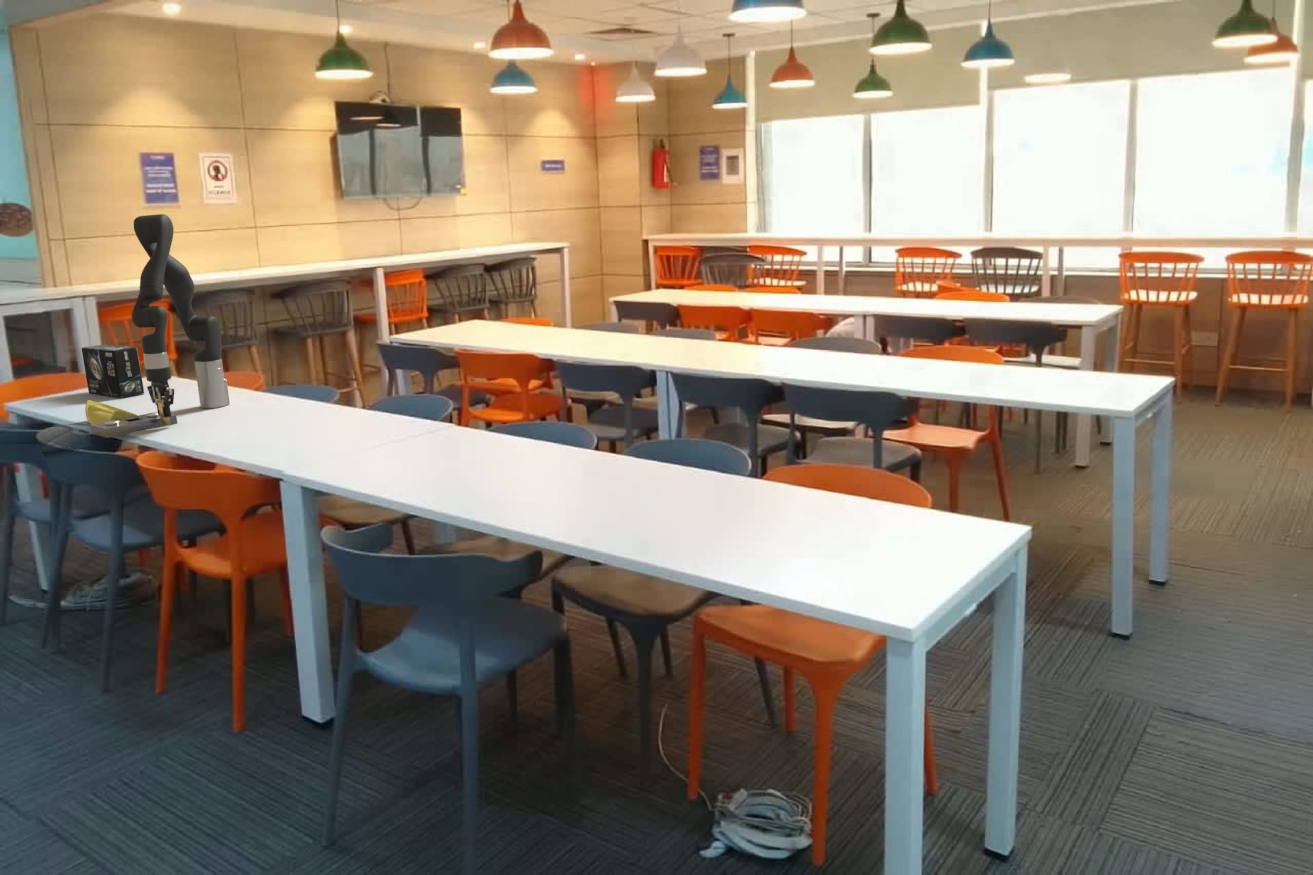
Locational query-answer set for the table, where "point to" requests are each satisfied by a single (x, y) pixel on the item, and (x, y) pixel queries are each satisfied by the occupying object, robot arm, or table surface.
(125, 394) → the box
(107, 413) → the plastic component
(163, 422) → the pin
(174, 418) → the grey slotted plate
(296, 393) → the table surface
